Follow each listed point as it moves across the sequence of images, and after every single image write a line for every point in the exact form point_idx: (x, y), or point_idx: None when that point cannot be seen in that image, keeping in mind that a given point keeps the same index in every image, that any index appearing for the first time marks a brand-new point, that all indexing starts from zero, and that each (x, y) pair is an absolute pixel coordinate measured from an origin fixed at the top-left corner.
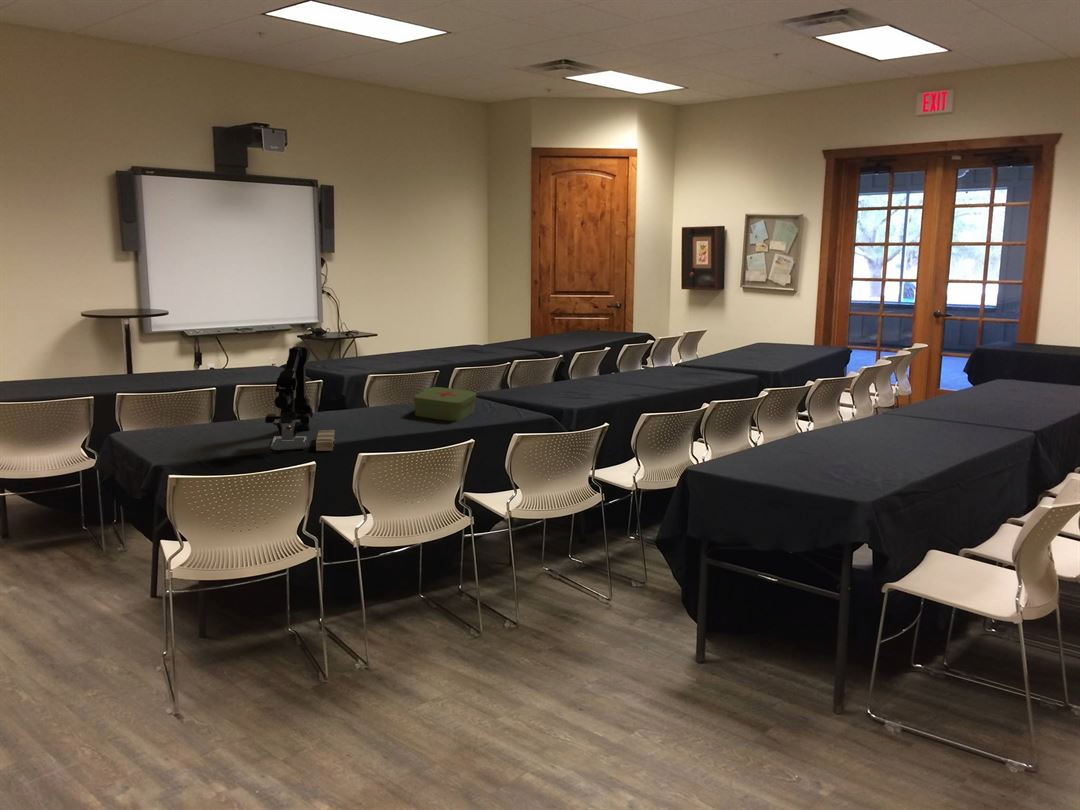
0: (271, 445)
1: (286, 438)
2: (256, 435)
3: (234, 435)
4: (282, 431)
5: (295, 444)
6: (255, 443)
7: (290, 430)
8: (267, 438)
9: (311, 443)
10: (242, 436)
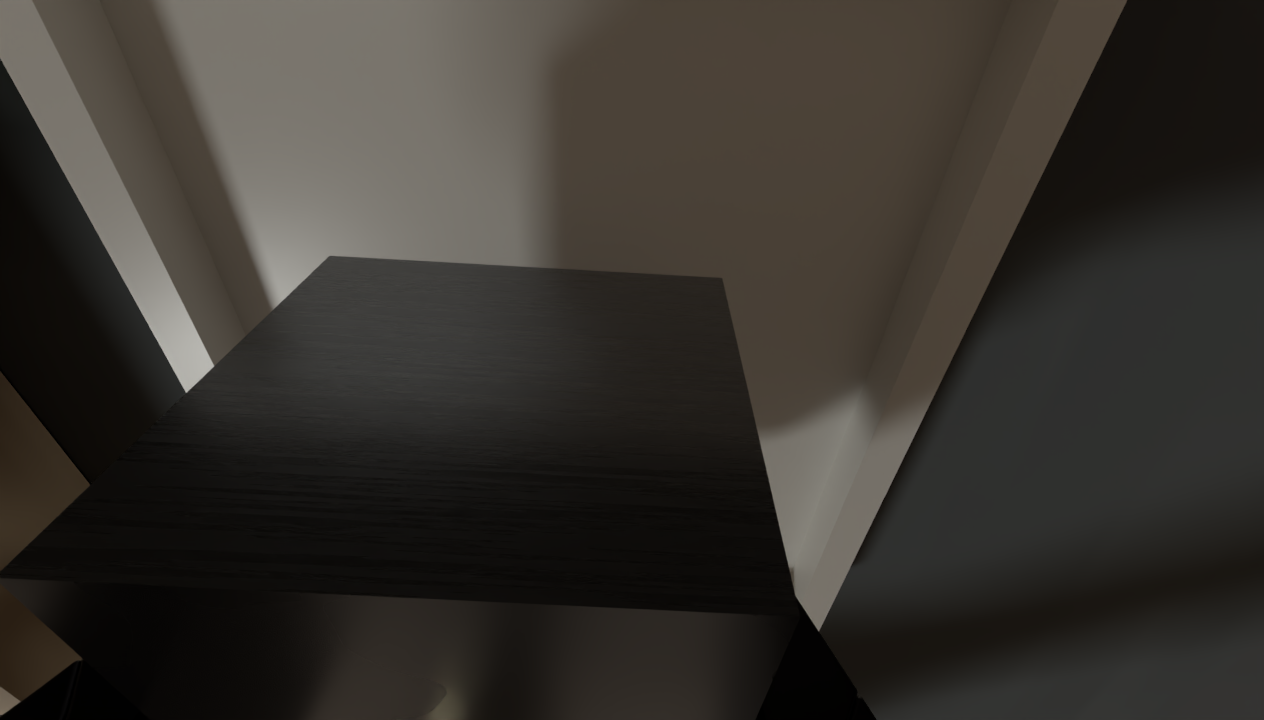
0: (1053, 104)
1: (556, 307)
2: (994, 697)
3: (1244, 712)
4: (732, 571)
5: None
6: (1168, 470)
7: (230, 628)
8: (892, 623)
9: (140, 393)
10: (1175, 687)
